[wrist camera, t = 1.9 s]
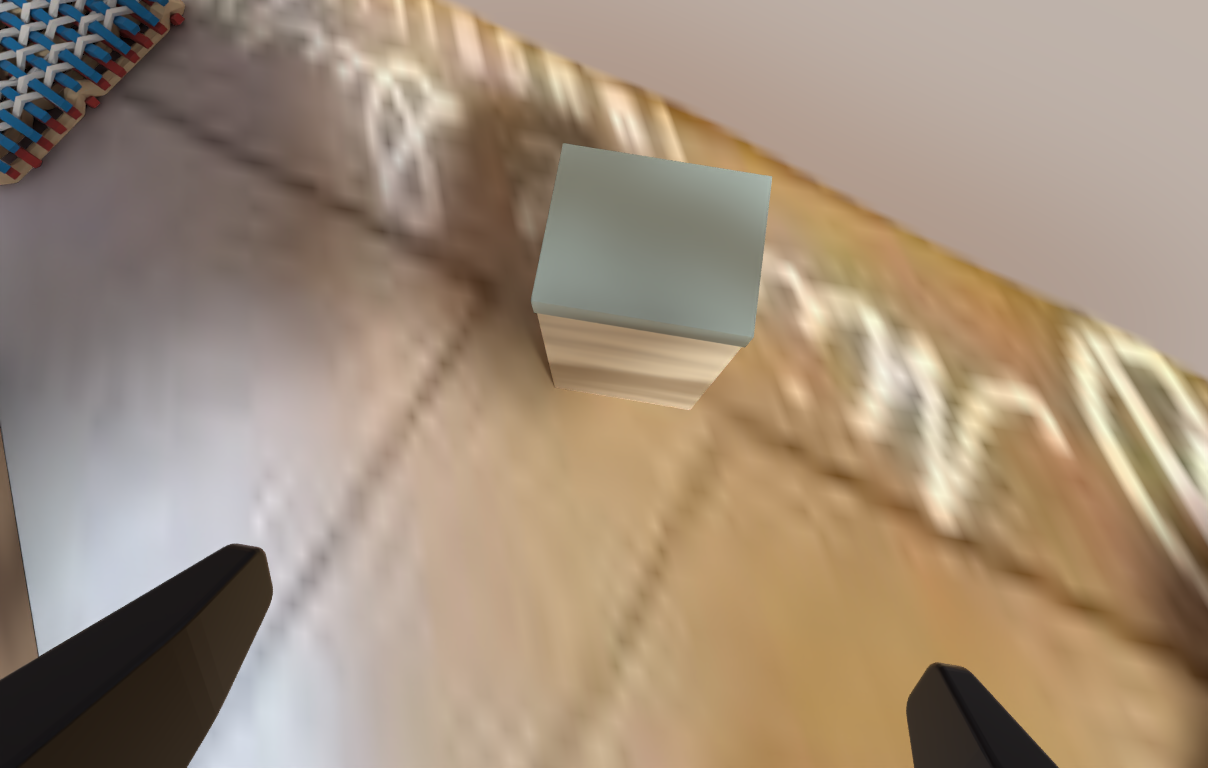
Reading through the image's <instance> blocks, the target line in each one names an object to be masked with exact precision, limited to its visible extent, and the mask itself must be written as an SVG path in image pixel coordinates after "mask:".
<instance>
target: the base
mask: <svg viewBox="0 0 1208 768" xmlns="http://www.w3.org/2000/svg"><path fill="white" fill-rule="evenodd" d="M36 658H38V653H37V647H36V641H35V635H34V629H33V623H32V617H31V611H30V605H29V599H28V593H27V587H26V581H25V575H24V569H23V563H22V557H21V551H20V545H19V539H18V533H17V526H16V520H15V514H14V508H13V502H12V496H11V490H10V484H9V478H8V472H7V466H6V460H5V454H4V448H3V442H2V436H1V430H0V679H2V678H4V677H5V676H7V675H9V674H11V673H12V672H14V671H16V670H17V669H19V668H21V667H22V666H24V665H26V664H27V663H29V662H31V661H32V660H34V659H36Z"/></svg>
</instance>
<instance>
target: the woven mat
mask: <svg viewBox="0 0 1208 768" xmlns="http://www.w3.org/2000/svg"><path fill="white" fill-rule="evenodd" d="M2 1H4V2H5V3H2ZM68 2H73V3H72V4H71V5H68V4H65V3H68ZM138 2H139V0H103V1H95V0H0V28H4V27H5V26H8V27H9V28H7V29H3V30H0V100H1V99H2V98H3V97H5V98H6V99H5V100H4V101H3V102H2V103H0V131H3V130H6V129H7V130H6V131H5V132H4V133H3V134H2V133H0V185H5V184H13V183H18V182H19V181H20V180H21V179H22V178H23V177H24V176H25V175H26V174H27V173H28V172H29V171H30V170H31V169H32V168H33V167H34V168H38V167H40V166H41V163H42V161H41V159H42V158H43V157H44V156H45V155H46V154H47V153H48V152H49V151H50V150H51V149H52V148H53V147H54V146H55V145H56V144H57V143H58V142H59V141H60V140H61V139H62V138H63V137H64V136H65V135H66V134H67V133H68V132H69V131H70V130H71V129H72V128H73V127H74V126H75V125H76V124H77V123H78V122H79V121H80V120H81V119H82V118H83V117H84V115H85V107H86V105H88V106H90V107H92V108H96V107H97V106H98V105H99V104H100V102H99V101H98V100H97V99H96V98H95V97H99V96H103V95H106V94H107V93H108V92H109V91H110V90H111V89H112V88H113V87H114V86H115V85H116V84H117V83H118V82H119V81H120V80H121V79H122V78H123V77H124V76H125V75H126V74H127V73H128V72H129V71H130V70H131V69H132V68H133V67H134V66H135V65H136V64H137V63H138V62H139V61H140V60H141V59H142V58H143V57H144V56H145V55H146V54H147V53H148V52H149V51H150V50H151V49H152V48H153V47H154V46H155V45H156V44H157V43H158V42H159V41H160V40H161V39H162V38H163V37H164V36H165V35H166V34H167V33H168V32H169V29H170V23H171V24H173V25H174V26H175V25H180V24H181V23H182V22H183V21H184V20H185V18H183V17H182V15H183V12H184V8H185V4H184V3H183V2H182V1H181V0H142V1H140V2H139V3H138ZM87 11H89V12H90V14H89V15H88V16H85V15H84V14H85V13H86V12H87ZM57 14H59V15H60V16H59V17H57ZM32 22H33V23H32ZM141 22H142V23H143V24H145V25H146V26H148V27H149V29H148V30H147V31H146V32H145V33H144V34H141V33H139V31H140V28H139V25H140V23H141ZM73 25H76V26H77V27H79V29H78V30H77V31H75V30H74V29H71V27H72V26H73ZM41 29H45V30H44V31H42V32H41V33H39V32H36V30H41ZM120 36H122V37H124V38H130V39H132V40H133V41H135V42H134V43H133V44H132V45H131V46H129V45H127V44H126V43H125V42H124V41H122V40H121V39H120ZM28 40H29V41H31V43H30V44H29V45H28V46H27V43H28ZM93 42H97V43H96V44H95V45H94V44H91V43H93ZM113 50H114V51H116V52H118V53H119V54H121V56H120V57H119V58H118V59H117V60H116V61H115V62H114V61H112V60H111V58H112V57H111V56H110V53H111V52H112V51H113ZM83 53H84V54H85V55H84V56H83V57H82V55H83ZM81 57H82V58H81ZM58 63H60V64H58ZM99 64H101V65H102V66H104V67H105V68H107V70H106V71H105V72H104V73H103V74H102V75H101V74H99V73H98V72H97V71H95V70H94V69H95V68H96V67H97V66H98V65H99ZM30 66H32V67H33V68H32V69H31V70H30V71H29V72H28V73H27V74H26V73H25V69H26V68H29V67H30ZM68 69H69V70H68ZM65 70H68V71H67V72H66V73H65V74H64V73H62V71H65ZM9 76H10V77H11V78H10V79H9ZM84 78H86V79H84ZM53 81H54V82H56V83H55V84H54V85H53V86H52V83H53ZM15 86H17V88H16V89H15V90H14V89H12V88H13V87H15ZM51 86H52V87H51ZM55 107H57V108H59V109H60V110H62V111H63V113H62V114H61V115H60V116H59V117H58V118H57V119H56V120H55V119H54V118H52V117H51V116H50V115H49V114H48V113H47V112H46V111H44V110H49V109H53V108H55ZM33 117H34V118H35V119H36V120H38V121H39V122H42V123H44V124H45V125H47V126H48V128H47V129H46V130H45V131H44V132H43V133H42V134H39V133H38V132H37V131H35V130H34V129H32V126H33ZM25 136H26V137H28V138H29V139H31V140H32V141H34V142H33V143H32V144H31V145H29V146H28V147H27V148H26V149H24V148H22V147H21V146H19V145H18V143H19V142H20V141H21V140H22V139H23V138H24V137H25ZM9 152H12V153H13V154H15V155H16V156H18V157H17V158H16V159H15V160H14V161H13V162H12V163H11V164H10V165H8V164H7V163H5V162H4V161H3V160H1V158H3V157H4V156H5V155H6V154H7V153H9Z"/></svg>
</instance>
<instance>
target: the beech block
mask: <svg viewBox="0 0 1208 768" xmlns="http://www.w3.org/2000/svg"><path fill="white" fill-rule="evenodd" d="M771 182H772V177H771V176H765V175H759V174H753V173H746V172H740V171H734V170H728V169H722V168H715V167H709V166H703V165H697V164H690V163H684V162H678V161H672V160H665V159H659V158H653V157H647V156H640V155H634V154H628V153H622V152H616V151H609V150H603V149H597V148H591V147H584V146H578V145H572V144H566V143H563V146H562V151H561V156H560V161H559V165H558V170H557V175H556V180H555V185H554V190H553V195H552V200H551V205H550V209H549V214H548V219H547V224H546V229H545V234H544V239H543V244H542V249H541V253H540V258H539V263H538V268H537V273H536V278H535V283H534V288H533V292H532V297H531V303H532V307H533V311H534V313H537V316H538V320H539V324H540V328H541V332H542V337H543V341H544V345H545V349H546V353H547V357H548V361H549V365H550V370H551V374H552V378H553V382H554V386H555V388H561V389H567V390H573V391H579V392H585V393H591V394H597V395H603V396H609V397H615V398H621V399H627V400H633V401H639V402H645V403H651V404H657V405H663V406H669V407H675V408H681V409H687V410H690V409H691V408H692V407H693V406H694V404H695V403H696V402H697V401H698V400H699V398H700V397H701V396H702V395H703V393H704V392H705V391H706V390H707V389H708V387H709V386H710V385H711V384H712V382H713V381H714V380H715V379H716V378H717V376H718V375H719V374H720V373H721V372H722V370H723V369H724V368H725V367H726V365H727V364H728V363H729V362H730V361H731V359H732V358H733V357H734V356H735V354H736V353H737V352H738V351H739V350H740V348H741V347H746V346H747V345H748V343H749V342H750V341H751V340H752V339H753V337H754V329H755V320H756V311H757V303H758V294H759V285H760V277H761V268H762V260H763V251H764V242H765V234H766V225H767V216H768V208H769V199H770V191H771Z"/></svg>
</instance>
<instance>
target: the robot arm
mask: <svg viewBox="0 0 1208 768" xmlns="http://www.w3.org/2000/svg"><path fill="white" fill-rule="evenodd" d="M272 595H273V586H272V581H271V576H270V572H269V567H268V562H267V558H266V554H265V552H264V551H263V550H262V549H261V548H259V547H254V546H249V545H243V544H230V545H227V546H225V547H223V548H221V549H220V550H218V551H216V552H215V553H213V554H211V555H210V556H208V557H206V558H204V559H203V560H201V561H199V562H198V563H196V564H194V565H193V566H191V567H189V568H188V569H186V570H184V571H183V572H181V573H179V574H177V575H176V576H174V577H172V578H171V579H169V580H167V581H166V582H164V583H162V584H161V585H159V586H157V587H156V588H154V589H152V590H151V591H149V592H147V593H145V594H144V595H142V596H140V597H139V598H137V599H135V600H134V601H132V602H130V603H129V604H127V605H125V606H124V607H122V608H120V609H118V610H117V611H115V612H113V613H112V614H110V615H108V616H107V617H105V618H103V619H102V620H100V621H98V622H97V623H95V624H93V625H91V626H90V627H88V628H86V629H85V630H83V631H81V632H80V633H78V634H76V635H75V636H73V637H71V638H70V639H68V640H66V641H64V642H63V643H61V644H59V645H58V646H56V647H54V648H53V649H51V650H49V651H48V652H46V653H44V654H43V655H41V656H39V657H38V658H36V659H34V660H32V661H31V662H29V663H27V664H26V665H24V666H22V667H21V668H19V669H17V670H16V671H14V672H12V673H11V674H9V675H7V676H5V677H4V678H2V679H0V768H187V766H188V765H189V763H190V761H191V760H192V758H193V756H194V755H195V753H196V751H197V750H198V748H199V746H200V745H201V743H202V741H203V740H204V738H205V736H206V735H207V733H208V731H209V729H210V728H211V726H212V724H213V722H214V721H215V719H216V717H217V715H218V713H219V711H220V709H221V707H222V705H223V703H224V701H225V699H226V697H227V695H228V693H229V691H230V689H231V687H232V684H233V682H234V680H235V678H236V676H237V674H238V672H239V670H240V667H241V665H242V663H243V661H244V659H245V657H246V655H247V653H248V650H249V648H250V646H251V644H252V642H253V640H254V638H255V636H256V633H257V631H258V629H259V627H260V625H261V623H262V621H263V619H264V617H265V614H266V612H267V610H268V608H269V606H270V603H271V600H272ZM906 714H907V722H908V729H909V735H910V742H911V749H912V756H913V763H914V768H1059V767H1058V766H1057V765H1056V764H1055V763H1054V762H1053V761H1052V760H1051V759H1050V758H1049V756H1048V755H1047V754H1046V753H1045V752H1044V751H1043V750H1042V749H1041V748H1040V747H1039V746H1038V744H1037V743H1036V742H1035V741H1034V740H1033V739H1032V738H1031V737H1030V736H1029V735H1028V734H1027V732H1026V731H1025V730H1024V729H1023V728H1022V727H1021V726H1020V725H1019V724H1018V723H1017V722H1016V720H1015V719H1014V718H1013V717H1012V716H1011V715H1010V714H1009V713H1008V712H1007V711H1006V710H1005V709H1004V707H1003V706H1002V705H1001V704H1000V703H999V702H998V701H997V700H996V699H995V698H994V697H993V695H992V694H991V693H990V692H989V691H988V690H987V689H986V688H985V687H984V686H983V685H982V683H981V682H980V681H979V680H978V679H977V678H976V677H975V676H974V675H973V674H972V673H971V672H970V671H969V670H967V669H966V668H964V667H961V666H956V665H950V664H944V663H933V664H931V665H930V666H929V667H928V668H927V669H926V671H925V672H924V674H923V675H922V677H921V679H920V680H919V682H918V683H917V685H916V686H915V688H914V689H913V691H912V692H911V694H910V696H909V698H908V701H907V707H906Z"/></svg>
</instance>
